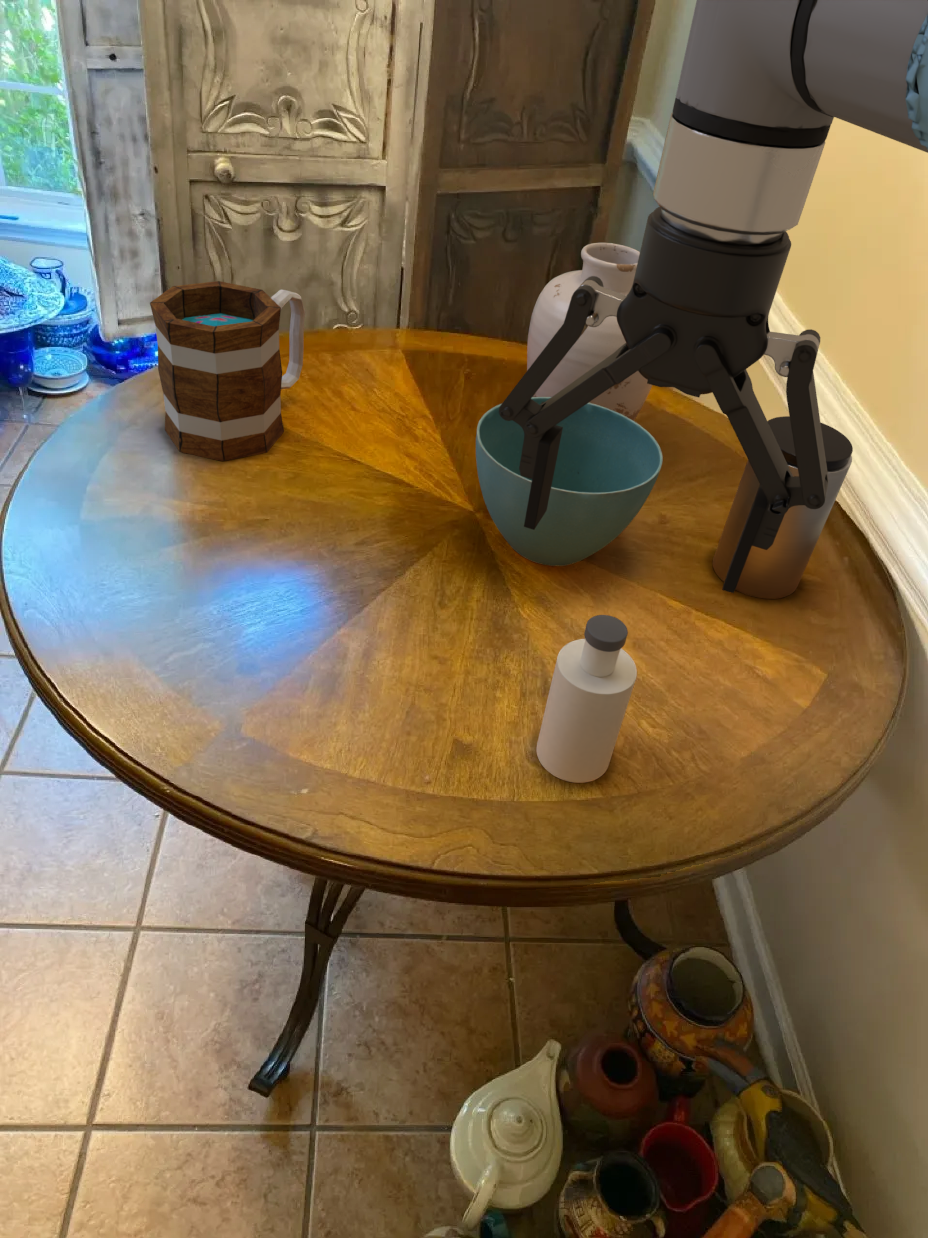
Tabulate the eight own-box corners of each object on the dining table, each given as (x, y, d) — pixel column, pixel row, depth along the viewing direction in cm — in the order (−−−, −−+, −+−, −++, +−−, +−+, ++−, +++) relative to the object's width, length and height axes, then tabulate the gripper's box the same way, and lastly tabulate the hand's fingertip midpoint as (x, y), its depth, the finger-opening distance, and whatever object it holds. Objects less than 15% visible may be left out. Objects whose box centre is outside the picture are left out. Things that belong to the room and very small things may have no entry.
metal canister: (815, 581, 96) (875, 448, 86) (762, 609, 92) (819, 472, 81) (748, 537, 101) (797, 406, 91) (695, 562, 97) (740, 427, 86)
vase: (550, 480, 106) (588, 285, 91) (492, 415, 117) (517, 230, 102) (663, 462, 112) (715, 276, 97) (597, 402, 122) (636, 225, 108)
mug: (221, 474, 100) (211, 344, 90) (139, 429, 105) (121, 301, 95) (342, 414, 113) (345, 294, 103) (263, 377, 118) (259, 259, 108)
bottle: (624, 762, 74) (666, 637, 65) (570, 794, 71) (607, 668, 62) (574, 716, 78) (607, 591, 69) (521, 745, 74) (548, 618, 66)
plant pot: (595, 490, 105) (618, 392, 98) (663, 588, 93) (695, 485, 85) (444, 500, 100) (455, 398, 93) (493, 606, 88) (510, 498, 80)
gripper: (972, 253, 47) (824, 576, 61) (520, 153, 53) (478, 470, 67) (976, 299, 42) (813, 642, 56) (472, 183, 47) (437, 521, 61)
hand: (630, 549), depth 61 cm, fingers open, 13 cm apart
